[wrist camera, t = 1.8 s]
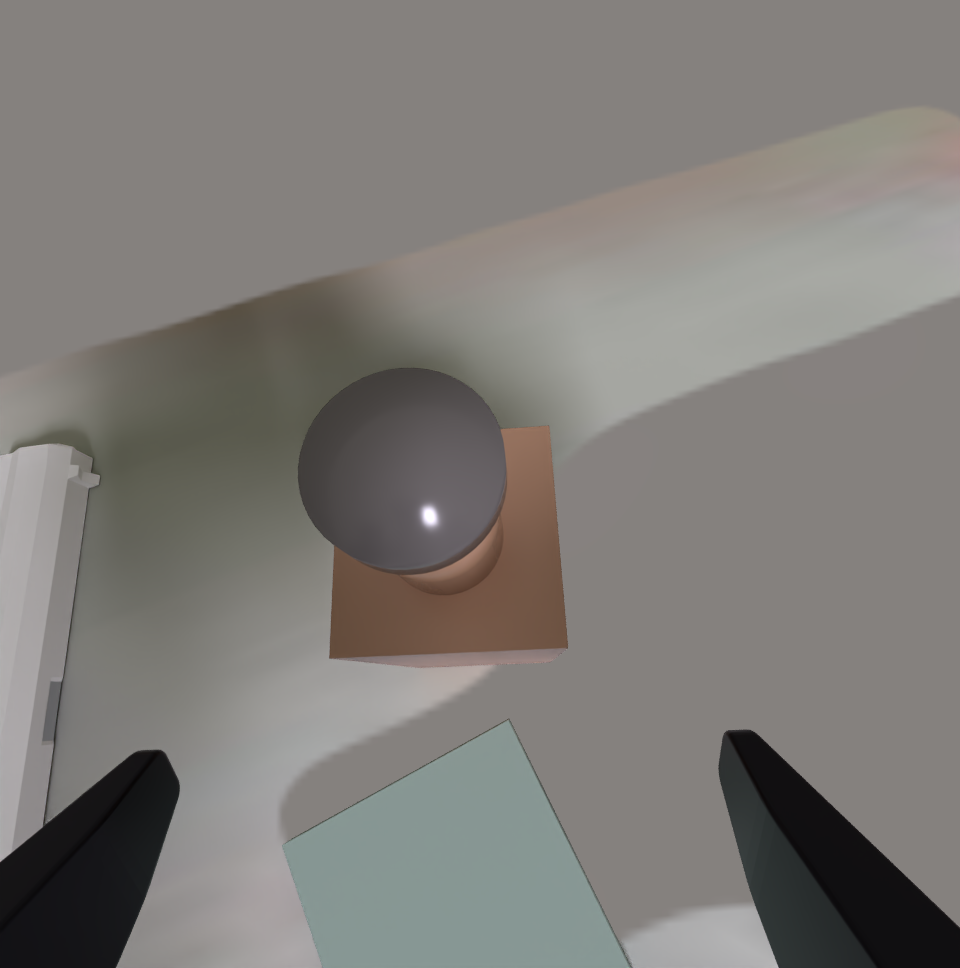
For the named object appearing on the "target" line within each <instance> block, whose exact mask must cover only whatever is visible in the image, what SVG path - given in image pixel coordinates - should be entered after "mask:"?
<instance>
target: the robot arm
mask: <svg viewBox="0 0 960 968" xmlns="http://www.w3.org/2000/svg"><path fill="white" fill-rule="evenodd" d="M719 777H720V782H721V786H722V790H723V793H724V797H725V801H726V805H727V808H728V812H729V816H730V819H731V823H732V827H733V830H734V834H735V838H736V842H737V845H738V849H739V853H740V856H741V860H742V864H743V868H744V871H745V875H746V878H747V882H748V885H749V888H750V892H751V894H752V897H753V900H754V903H755V906H756V909H757V911H758V914H759V917H760V919H761V922H762V925H763V927H764V930H765V933H766V935H767V938H768V941H769V943H770V946H771V949H772V951H773V954H774V956H775V959H776V962H777V964H778V967H779V968H960V927H959V926H958V925H956V923H954V922H953V921H952V920H951V919H950V918H949V917H948V916H947V915H946V914H945V913H944V912H943V911H942V910H941V909H940V908H939V907H938V906H937V905H936V904H935V903H934V902H932V901H931V900H930V899H929V898H928V897H927V896H926V895H925V894H924V893H923V892H922V891H921V890H920V889H919V888H918V887H917V886H916V885H915V884H914V883H913V882H911V880H909V879H908V878H907V877H906V876H905V875H904V874H903V873H902V872H901V871H900V870H899V869H898V868H897V867H896V866H895V865H894V864H893V863H891V862H890V860H889V859H887V858H886V857H885V856H884V855H883V854H882V853H881V852H880V851H879V850H878V849H877V848H876V847H875V846H874V845H873V844H871V842H870V841H869V840H868V839H866V838H865V837H864V836H863V835H862V834H861V833H860V832H859V831H858V830H857V829H856V828H855V827H854V826H853V825H852V824H851V823H850V822H848V820H847V819H845V817H844V816H842V815H841V814H840V813H839V812H838V811H837V810H836V809H835V808H834V807H833V806H832V805H831V804H830V803H829V802H828V801H827V800H826V799H825V798H824V797H823V796H822V795H821V794H819V793H818V792H817V791H816V790H815V789H814V788H813V787H812V786H811V785H810V784H809V783H808V782H807V781H806V780H805V779H804V778H803V777H802V776H801V775H800V774H798V773H797V772H796V771H795V770H794V769H793V768H792V767H791V766H790V765H789V764H788V763H787V762H786V761H785V760H784V759H783V758H782V757H781V756H780V755H779V754H778V753H777V752H776V751H774V750H773V749H772V748H771V747H770V746H769V745H768V744H767V743H766V742H765V741H764V740H763V739H762V738H761V737H760V736H759V735H757V734H756V733H755V732H753V731H751V730H728V731H726V732H725V733H724V735H723V739H722V746H721V753H720V759H719ZM179 792H180V785H179V780H178V778H177V776H176V774H175V772H174V769H173V767H172V765H171V763H170V761H169V759H168V757H167V755H166V753H165V752H163V751H162V750H141V751H137V752H135V753H133V754H132V755H130V756H129V757H128V758H126V759H125V760H124V761H123V762H122V763H120V764H119V765H118V766H117V767H115V768H114V769H113V770H112V771H111V772H109V773H108V774H107V775H106V776H104V777H103V778H102V779H101V780H100V781H98V782H97V783H96V784H95V785H93V786H92V787H91V788H90V789H89V790H87V791H86V792H85V793H84V794H82V795H81V796H80V797H79V798H78V799H76V800H75V801H74V802H73V803H71V804H70V805H69V806H68V807H67V808H65V809H64V810H63V811H62V812H60V813H59V814H58V815H57V816H56V817H54V818H53V819H52V820H51V821H49V822H48V823H47V824H46V825H45V826H43V827H42V828H41V829H40V830H38V831H37V832H36V833H35V834H34V835H32V836H31V837H30V838H29V839H27V840H26V841H25V842H24V843H23V844H21V845H20V846H19V847H18V848H16V849H15V850H14V851H13V852H12V853H10V854H9V855H8V856H7V857H5V858H4V859H3V860H2V861H1V862H0V968H116V966H117V964H118V962H119V959H120V957H121V955H122V952H123V950H124V948H125V945H126V943H127V941H128V938H129V936H130V934H131V931H132V929H133V927H134V924H135V922H136V920H137V917H138V915H139V912H140V910H141V907H142V905H143V902H144V900H145V897H146V894H147V892H148V889H149V886H150V883H151V880H152V877H153V874H154V871H155V868H156V865H157V862H158V859H159V856H160V853H161V850H162V847H163V843H164V840H165V837H166V834H167V831H168V828H169V825H170V822H171V819H172V816H173V813H174V810H175V807H176V804H177V801H178V797H179Z"/></svg>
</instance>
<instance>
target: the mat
mask: <svg viewBox="0 0 960 968" xmlns="http://www.w3.org/2000/svg"><path fill="white" fill-rule="evenodd" d="M282 847H283V850H284V853H285V856H286V859H287V862H288V865H289V868H290V871H291V874H292V877H293V880H294V883H295V886H296V889H297V892H298V895H299V898H300V901H301V904H302V907H303V910H304V913H305V916H306V919H307V922H308V925H309V928H310V931H311V934H312V937H313V940H314V943H315V946H316V949H317V952H318V955H319V958H320V961H321V964H322V967H323V968H631V966H630V964H629V962H628V960H627V957H626V955H625V953H624V951H623V949H622V947H621V945H620V943H619V941H618V939H617V937H616V935H615V933H614V931H613V929H612V927H611V925H610V923H609V921H608V919H607V917H606V915H605V913H604V911H603V909H602V907H601V905H600V902H599V901H598V898H597V896H596V894H595V892H594V890H593V888H592V886H591V884H590V882H589V880H588V878H587V876H586V874H585V872H584V870H583V868H582V866H581V864H580V862H579V860H578V858H577V856H576V854H575V852H574V850H573V848H572V846H571V844H570V841H569V840H568V838H567V835H566V833H565V831H564V829H563V827H562V825H561V823H560V821H559V819H558V817H557V815H556V813H555V811H554V809H553V807H552V805H551V803H550V801H549V799H548V797H547V795H546V793H545V790H544V788H543V787H542V785H541V783H540V780H539V778H538V776H537V774H536V772H535V770H534V768H533V766H532V764H531V762H530V760H529V758H528V756H527V754H526V752H525V750H524V748H523V746H522V744H521V742H520V740H519V738H518V736H517V733H516V731H515V729H514V728H513V725H512V723H511V721H510V719H507V720H506V721H504V722H502V723H500V724H499V725H497V726H495V727H493V728H491V729H489V730H488V731H486V732H484V733H482V734H480V735H479V736H477V737H475V738H473V739H471V740H470V741H468V742H466V743H464V744H462V745H460V746H459V747H457V748H455V749H453V750H451V751H450V752H448V753H446V754H444V755H442V756H441V757H439V758H437V759H435V760H433V761H431V762H430V763H428V764H426V765H424V766H422V767H421V768H419V769H417V770H415V771H413V772H412V773H410V774H408V775H406V776H405V777H403V778H401V779H399V780H397V781H395V782H394V783H392V784H390V785H388V786H386V787H385V788H383V789H381V790H379V791H377V792H376V793H374V794H372V795H370V796H368V797H367V798H365V799H363V800H361V801H359V802H357V803H356V804H354V805H352V806H350V807H348V808H347V809H345V810H343V811H341V812H339V813H338V814H336V815H334V816H332V817H330V818H329V819H327V820H325V821H323V822H322V823H320V824H318V825H316V826H314V827H312V828H310V829H309V830H307V831H305V832H303V833H301V834H300V835H298V836H296V837H294V838H292V839H291V840H289V841H288V842H286V843H285V844H283V845H282Z"/></svg>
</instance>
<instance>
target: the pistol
mask: <svg viewBox="0 0 960 968" xmlns="http://www.w3.org/2000/svg"><path fill="white" fill-rule="evenodd" d="M92 462H93V458H91V457H89V456H87V455H86V454H84V453H82V452H80V451H78V450H76V449H75V448H74V447H73V446H68V445H64V444H60V443H53V444H43V445H36V446H28V447H21V448H18V449H17V450H16V451H15V452H13V453H10V454H4V455H0V862H1V861H2V860H3V859H4V858H5V857H7V856H8V855H9V854H10V853H12V852H13V851H14V850H15V849H16V848H18V847H19V846H20V845H21V844H23V843H24V842H25V841H26V840H27V839H29V838H30V837H31V836H32V835H34V834H35V833H36V832H37V831H38V830H40V829H41V828H42V827H43V820H44V813H45V806H46V798H47V791H48V784H49V776H50V769H51V762H52V754H53V747H54V741H53V740H54V732H55V725H56V718H57V711H58V703H59V696H60V689H61V682H62V679H63V674H64V667H65V659H66V652H67V645H68V637H69V630H70V623H71V615H72V608H73V601H74V593H75V586H76V579H77V572H78V564H79V557H80V550H81V542H82V535H83V528H84V520H85V513H86V506H87V498H88V491H89V488H91V487H94V486H97V485H99V480H100V475H97V474H93V473H91V469H92Z"/></svg>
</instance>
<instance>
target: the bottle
mask: <svg viewBox="0 0 960 968" xmlns="http://www.w3.org/2000/svg"><path fill="white" fill-rule="evenodd" d="M298 482H299V489H300V494H301V498H302V501H303V505H304V507H305V509H306V511H307V513H308V516H309V517H310V519H311V520H312V522H313V524H314V525H315V527H316V528H317V529H318V530H319V531H320V532H321V534H322V535H323V536H324V537H325V538H326V539H328V540H329V541H330V542H331V543H332V544H333V545H334V567H333V589H332V611H331V634H330V656H329V659H339V660H348V661H358V662H368V663H377V664H387V665H396V666H406V667H415V668H426V667H450V666H473V665H497V664H520V663H542V662H543V663H544V662H551V661H552V660H554V659H555V658H556V657H557V656H559V655H560V654H561V653H562V652H564V651H565V650H566V649H567V648H568V641H567V629H566V618H565V606H564V594H563V584H562V571H561V559H560V547H559V536H558V524H557V512H556V501H555V489H554V477H553V465H552V453H551V442H550V430H549V426H538V427H524V428H509V429H500V427H499V425H498V422H497V420H496V418H495V416H494V414H493V413H492V411H491V410H490V408H489V406H488V405H487V404H486V403H485V402H484V400H483V399H482V398H481V397H480V396H479V395H478V394H477V393H476V392H475V391H474V390H472V389H471V388H470V387H468V386H467V385H465V384H464V383H463V382H461V381H459V380H457V379H455V378H453V377H451V376H449V375H446V374H443V373H440V372H437V371H432V370H428V369H420V368H399V369H391V370H386V371H382V372H378V373H375V374H372V375H369V376H367V377H364V378H362V379H360V380H358V381H356V382H354V383H352V384H351V385H349V386H348V387H346V388H345V389H343V390H342V391H340V392H339V393H338V394H337V395H336V396H334V397H333V398H332V399H331V400H330V401H329V402H328V403H327V404H326V405H325V406H324V407H323V408H322V410H321V411H320V412H319V414H318V415H317V417H316V418H315V419H314V421H313V423H312V425H311V426H310V428H309V430H308V432H307V434H306V437H305V439H304V442H303V445H302V449H301V452H300V458H299V465H298Z"/></svg>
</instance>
